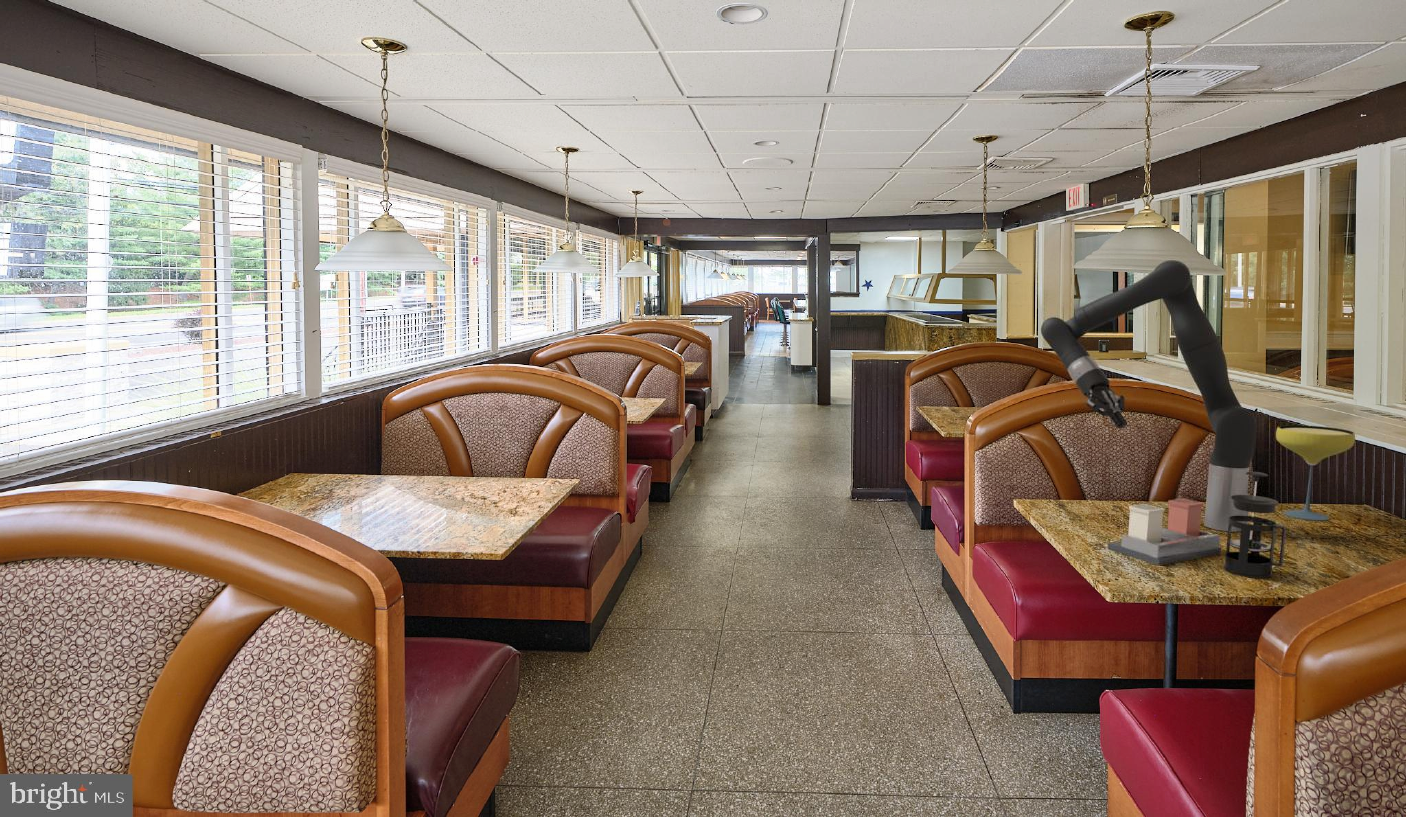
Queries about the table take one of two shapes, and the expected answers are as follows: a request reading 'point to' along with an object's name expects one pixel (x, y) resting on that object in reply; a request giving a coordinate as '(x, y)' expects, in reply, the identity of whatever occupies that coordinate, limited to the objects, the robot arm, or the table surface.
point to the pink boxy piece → (1185, 516)
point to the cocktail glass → (1313, 453)
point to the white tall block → (1146, 522)
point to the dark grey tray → (1169, 547)
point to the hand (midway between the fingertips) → (1123, 426)
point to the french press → (1252, 536)
